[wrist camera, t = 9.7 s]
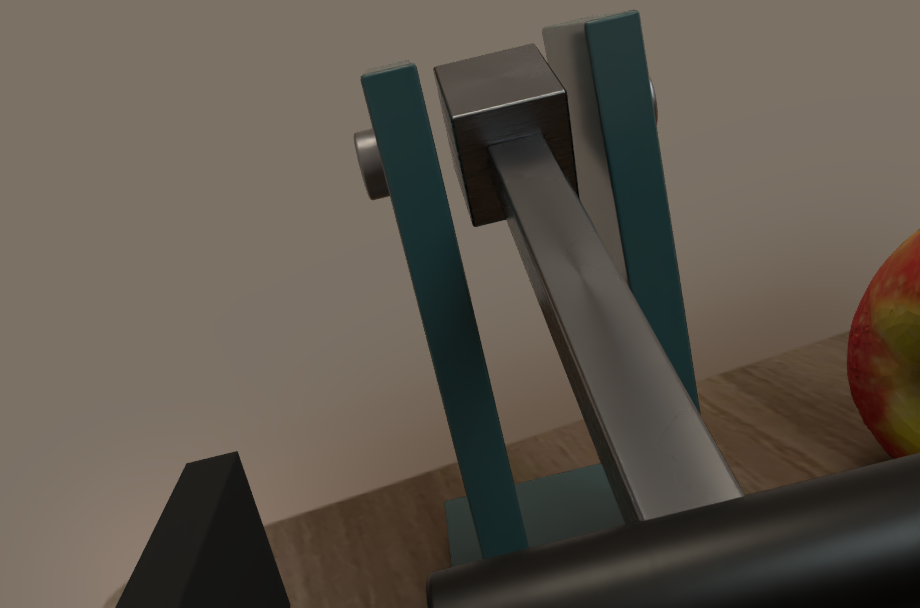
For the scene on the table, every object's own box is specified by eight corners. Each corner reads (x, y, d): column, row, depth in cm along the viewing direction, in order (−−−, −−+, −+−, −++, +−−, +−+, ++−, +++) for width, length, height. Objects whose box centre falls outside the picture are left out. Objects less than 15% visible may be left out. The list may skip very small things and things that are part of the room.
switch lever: (1011, 648, 8) (1069, 489, 7) (475, 780, 8) (423, 647, 7) (619, 127, 19) (610, 23, 18) (383, 185, 19) (355, 84, 18)
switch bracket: (846, 737, 16) (764, -17, 12) (489, 825, 16) (282, 98, 12) (675, 479, 26) (597, 12, 21) (452, 534, 25) (331, 76, 21)
